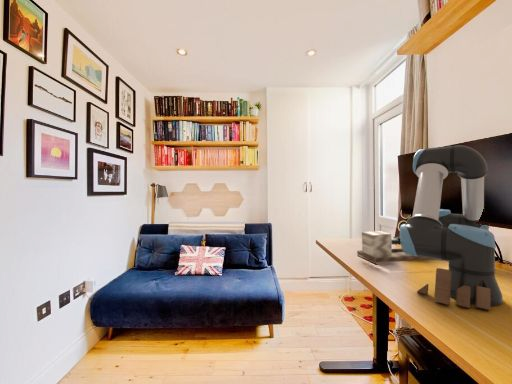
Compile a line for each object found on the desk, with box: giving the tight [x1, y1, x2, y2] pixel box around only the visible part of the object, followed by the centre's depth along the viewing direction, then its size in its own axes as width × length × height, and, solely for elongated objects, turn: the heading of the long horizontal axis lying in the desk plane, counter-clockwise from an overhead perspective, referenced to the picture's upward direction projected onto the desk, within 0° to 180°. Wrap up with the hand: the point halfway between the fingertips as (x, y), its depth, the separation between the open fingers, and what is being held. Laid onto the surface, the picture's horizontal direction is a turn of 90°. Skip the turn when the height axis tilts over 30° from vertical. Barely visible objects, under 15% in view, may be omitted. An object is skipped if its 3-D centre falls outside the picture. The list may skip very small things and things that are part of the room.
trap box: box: [356, 247, 430, 266], centre depth 126 cm, size 44×15×3 cm, turn 100°
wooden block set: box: [416, 267, 491, 311], centre depth 77 cm, size 18×9×10 cm, turn 51°
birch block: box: [361, 230, 393, 258], centre depth 123 cm, size 10×9×12 cm
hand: (385, 242), depth 124 cm, fingers closed
